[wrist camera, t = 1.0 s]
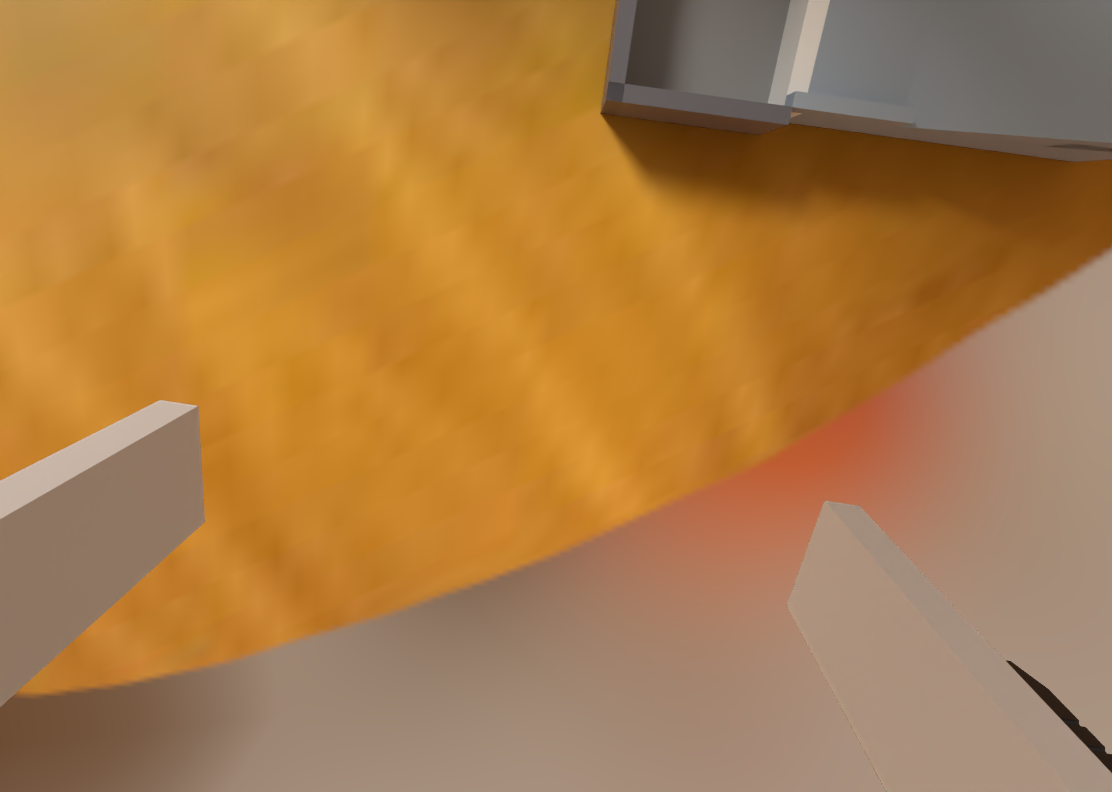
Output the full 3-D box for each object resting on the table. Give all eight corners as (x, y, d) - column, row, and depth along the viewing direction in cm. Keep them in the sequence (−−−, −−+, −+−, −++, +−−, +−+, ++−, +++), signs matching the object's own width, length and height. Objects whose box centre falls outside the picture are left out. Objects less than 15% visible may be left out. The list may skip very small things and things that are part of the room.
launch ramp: (1166, -24, 29) (1361, -96, 22) (1091, 164, 32) (1241, 154, 25) (805, -76, 29) (884, -167, 22) (762, 119, 32) (819, 95, 25)
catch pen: (809, -95, 28) (852, -147, 24) (759, 135, 32) (788, 124, 28) (632, -121, 28) (643, -178, 24) (600, 113, 32) (605, 99, 27)
